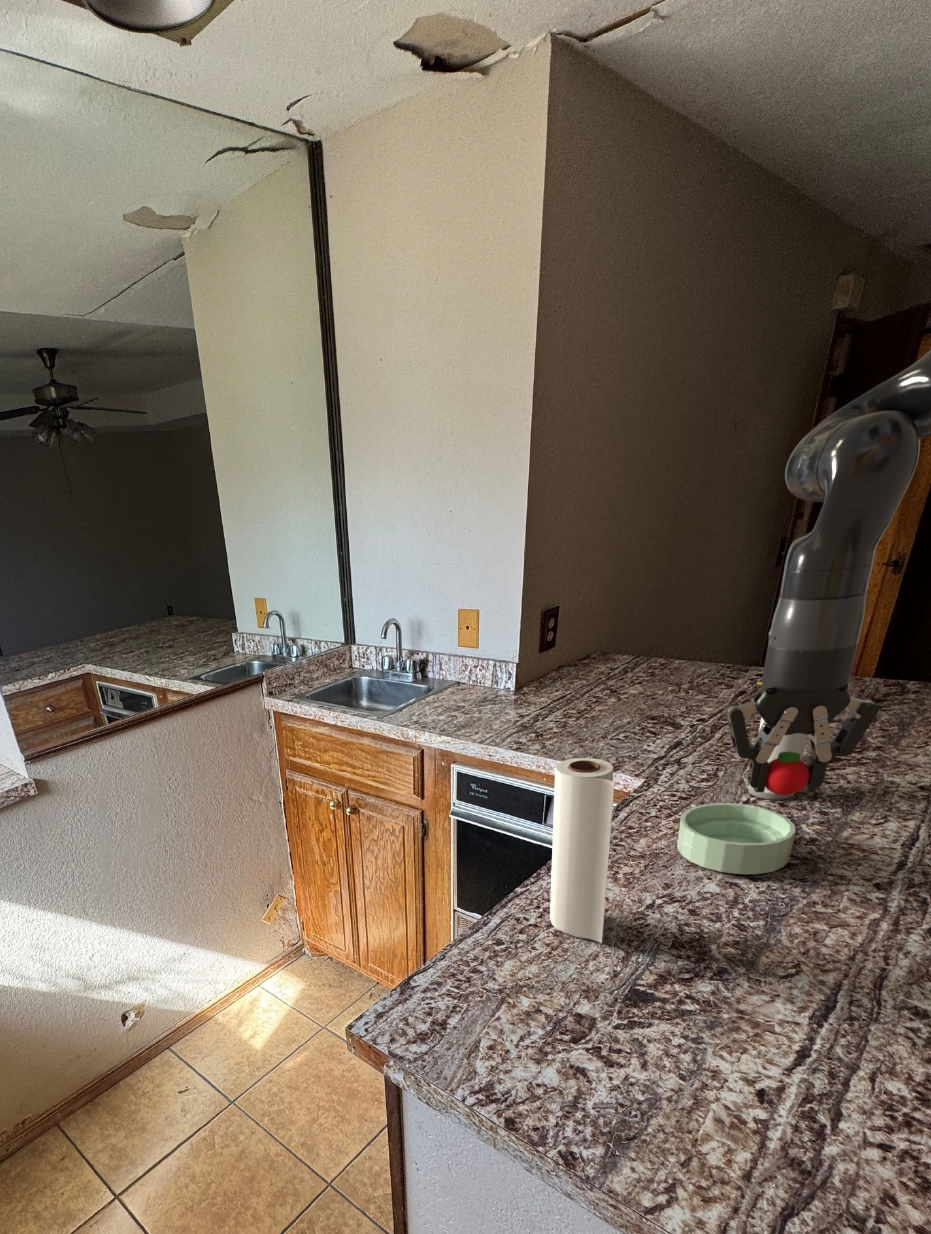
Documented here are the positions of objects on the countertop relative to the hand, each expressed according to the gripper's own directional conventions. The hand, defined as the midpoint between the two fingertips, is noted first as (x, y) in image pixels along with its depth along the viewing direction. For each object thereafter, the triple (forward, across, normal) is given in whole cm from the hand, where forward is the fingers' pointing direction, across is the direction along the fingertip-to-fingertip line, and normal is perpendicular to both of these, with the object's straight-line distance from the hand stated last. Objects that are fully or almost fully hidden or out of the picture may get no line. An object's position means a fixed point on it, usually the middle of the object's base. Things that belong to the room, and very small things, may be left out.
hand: (782, 789), depth 75 cm
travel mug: (+15, +10, +33) cm, 38 cm away
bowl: (+15, -1, +11) cm, 19 cm away
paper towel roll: (+15, -22, -9) cm, 28 cm away
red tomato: (+1, 0, 0) cm, 1 cm away
